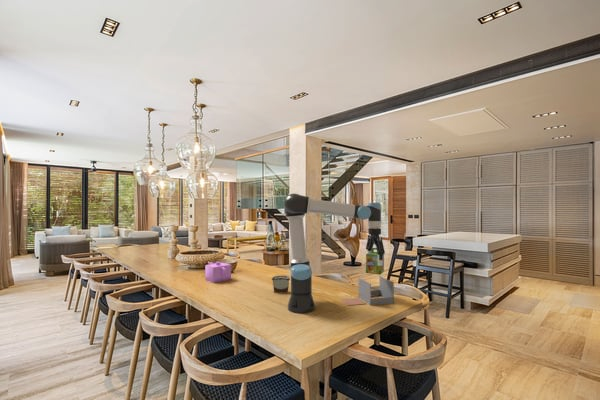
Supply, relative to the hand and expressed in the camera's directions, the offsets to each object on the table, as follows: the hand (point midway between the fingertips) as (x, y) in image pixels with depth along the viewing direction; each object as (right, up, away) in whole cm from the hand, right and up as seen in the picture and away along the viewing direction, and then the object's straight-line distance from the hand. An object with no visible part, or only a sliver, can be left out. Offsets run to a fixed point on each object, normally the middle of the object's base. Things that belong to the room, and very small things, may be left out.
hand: (374, 263), depth 181 cm
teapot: (-111, -24, +54) cm, 126 cm away
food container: (-58, -23, +20) cm, 65 cm away
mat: (-14, -22, -4) cm, 26 cm away
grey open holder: (0, -22, 0) cm, 22 cm away
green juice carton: (0, -6, 0) cm, 6 cm away
